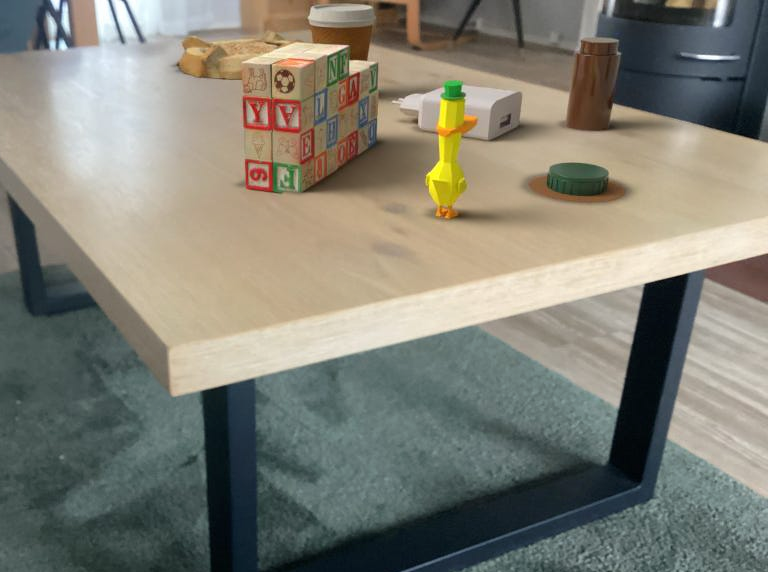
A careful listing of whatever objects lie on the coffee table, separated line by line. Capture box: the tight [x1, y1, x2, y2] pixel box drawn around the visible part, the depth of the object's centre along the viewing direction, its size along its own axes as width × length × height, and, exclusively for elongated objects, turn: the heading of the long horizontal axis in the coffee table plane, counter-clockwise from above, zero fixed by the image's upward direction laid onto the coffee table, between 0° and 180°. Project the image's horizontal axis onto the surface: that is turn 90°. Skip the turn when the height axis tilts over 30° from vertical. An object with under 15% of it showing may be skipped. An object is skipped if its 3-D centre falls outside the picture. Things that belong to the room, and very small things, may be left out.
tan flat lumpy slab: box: [175, 29, 307, 80], centre depth 146 cm, size 24×24×5 cm
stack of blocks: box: [241, 42, 379, 194], centre depth 90 cm, size 21×6×12 cm, turn 155°
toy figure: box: [425, 80, 478, 219], centre depth 75 cm, size 7×4×12 cm, turn 142°
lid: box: [546, 161, 610, 196], centre depth 84 cm, size 6×6×2 cm
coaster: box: [528, 175, 626, 204], centre depth 84 cm, size 9×9×1 cm
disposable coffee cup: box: [307, 3, 377, 61], centre depth 122 cm, size 10×10×12 cm
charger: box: [391, 84, 523, 142], centre depth 106 cm, size 5×9×15 cm
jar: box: [564, 36, 622, 132], centre depth 104 cm, size 5×5×10 cm
